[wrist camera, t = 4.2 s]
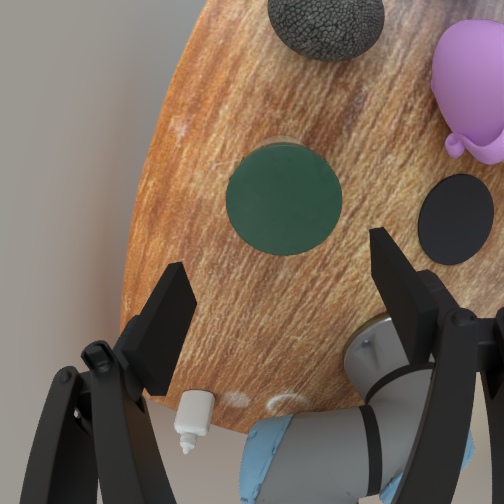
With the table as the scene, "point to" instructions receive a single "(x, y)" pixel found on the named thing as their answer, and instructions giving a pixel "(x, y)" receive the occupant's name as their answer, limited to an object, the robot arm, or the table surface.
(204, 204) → the table surface
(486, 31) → the teapot
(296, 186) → the jar lid
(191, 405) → the eye dropper bottle
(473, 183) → the coaster
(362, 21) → the decorative ball
